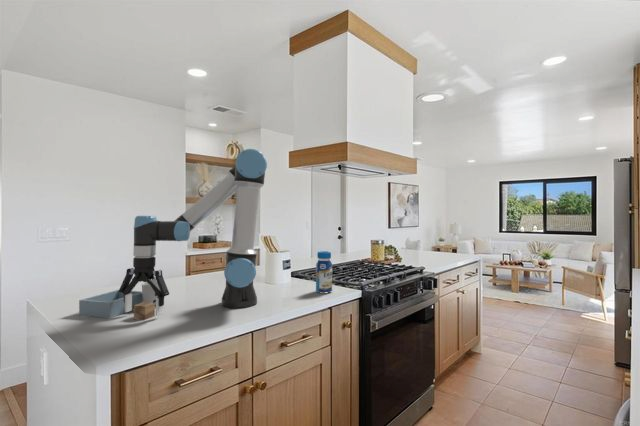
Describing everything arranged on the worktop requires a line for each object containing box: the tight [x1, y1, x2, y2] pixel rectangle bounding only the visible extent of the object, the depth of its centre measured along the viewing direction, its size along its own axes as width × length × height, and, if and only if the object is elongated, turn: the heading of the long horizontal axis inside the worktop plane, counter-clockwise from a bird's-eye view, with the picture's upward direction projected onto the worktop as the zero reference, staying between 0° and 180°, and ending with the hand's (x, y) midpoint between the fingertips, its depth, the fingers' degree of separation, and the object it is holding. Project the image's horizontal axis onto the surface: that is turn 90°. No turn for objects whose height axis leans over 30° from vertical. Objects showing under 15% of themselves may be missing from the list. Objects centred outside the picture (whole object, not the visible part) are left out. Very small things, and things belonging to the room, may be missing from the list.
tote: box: [78, 289, 144, 319], centre depth 146 cm, size 14×19×6 cm
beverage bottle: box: [315, 250, 334, 294], centre depth 181 cm, size 8×8×20 cm
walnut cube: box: [133, 302, 156, 321], centre depth 137 cm, size 5×5×5 cm
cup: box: [141, 281, 158, 309], centre depth 151 cm, size 8×8×10 cm
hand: (143, 313), depth 136 cm, fingers open, 13 cm apart
